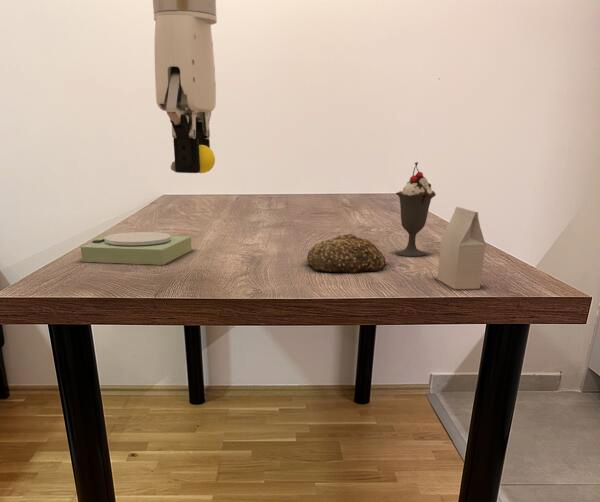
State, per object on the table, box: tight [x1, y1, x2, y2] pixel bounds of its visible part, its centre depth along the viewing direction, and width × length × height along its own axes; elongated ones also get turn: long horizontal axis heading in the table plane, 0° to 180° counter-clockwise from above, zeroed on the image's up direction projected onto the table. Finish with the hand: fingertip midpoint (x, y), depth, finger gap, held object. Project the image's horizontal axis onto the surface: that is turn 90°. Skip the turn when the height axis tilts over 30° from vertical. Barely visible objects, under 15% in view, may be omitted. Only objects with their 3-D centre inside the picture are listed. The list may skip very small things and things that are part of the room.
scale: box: [80, 231, 193, 266], centre depth 109 cm, size 14×14×3 cm
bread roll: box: [306, 233, 387, 274], centre depth 101 cm, size 13×12×5 cm
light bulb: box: [170, 145, 216, 174], centre depth 84 cm, size 3×6×4 cm, turn 89°
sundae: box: [395, 161, 437, 257], centre depth 109 cm, size 7×7×15 cm
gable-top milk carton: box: [436, 206, 486, 290], centre depth 88 cm, size 4×7×10 cm, turn 9°
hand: (193, 170), depth 84 cm, fingers closed on light bulb, 3 cm apart
